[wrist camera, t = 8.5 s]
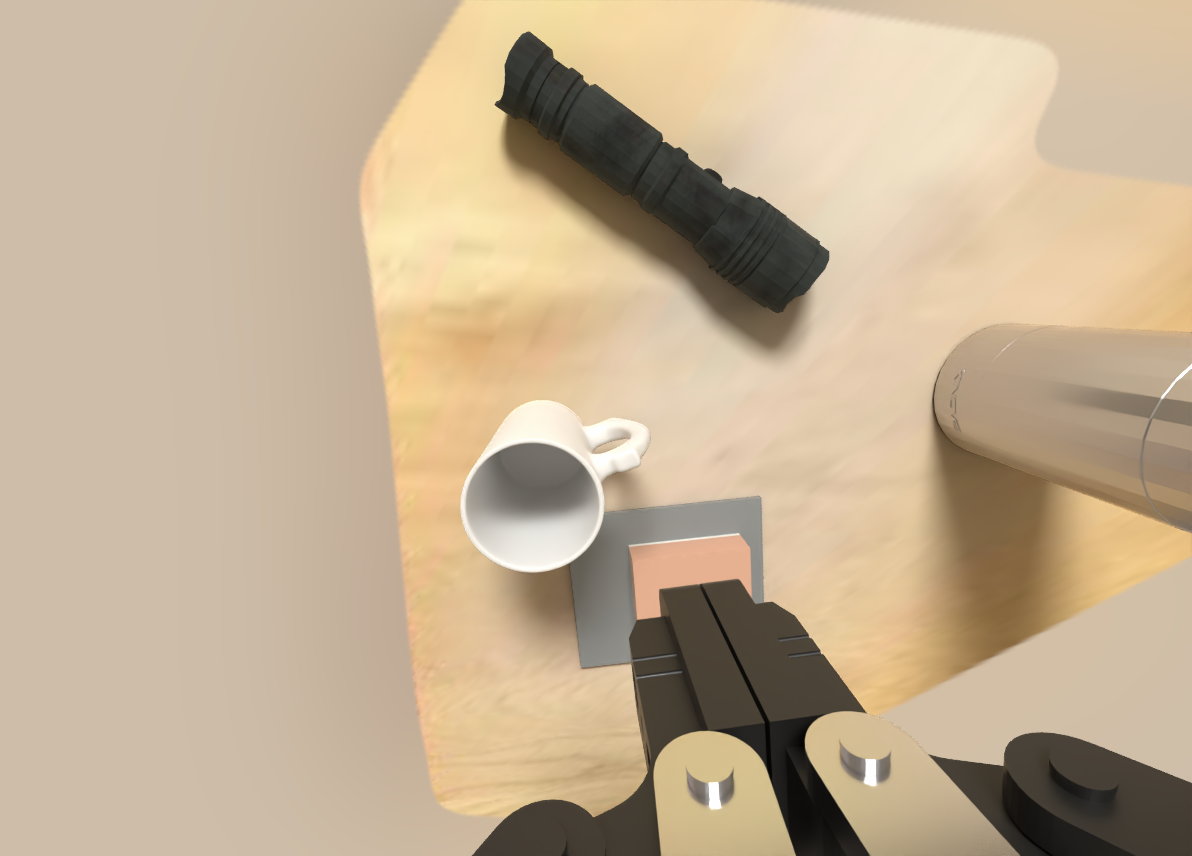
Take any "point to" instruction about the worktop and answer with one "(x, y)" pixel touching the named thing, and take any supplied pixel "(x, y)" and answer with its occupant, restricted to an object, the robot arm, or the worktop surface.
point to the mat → (608, 575)
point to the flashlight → (662, 178)
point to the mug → (544, 485)
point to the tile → (685, 567)
